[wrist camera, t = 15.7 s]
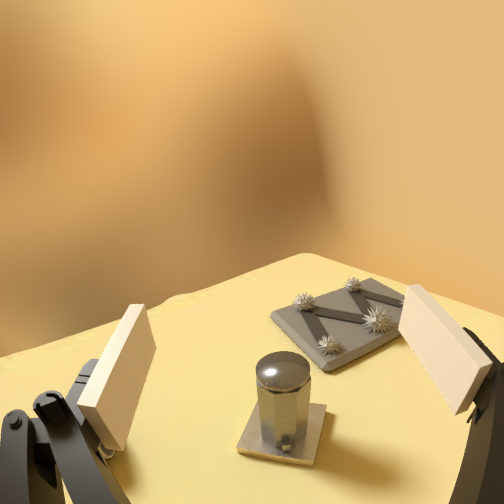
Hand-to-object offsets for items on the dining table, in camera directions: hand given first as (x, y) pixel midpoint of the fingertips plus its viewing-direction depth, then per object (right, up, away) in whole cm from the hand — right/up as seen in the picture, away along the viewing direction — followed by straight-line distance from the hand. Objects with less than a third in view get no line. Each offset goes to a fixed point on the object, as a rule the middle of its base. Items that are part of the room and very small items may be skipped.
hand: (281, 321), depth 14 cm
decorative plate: (+20, -12, +47) cm, 52 cm away
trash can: (+3, -20, +21) cm, 29 cm away
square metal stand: (+3, -21, +22) cm, 31 cm away
